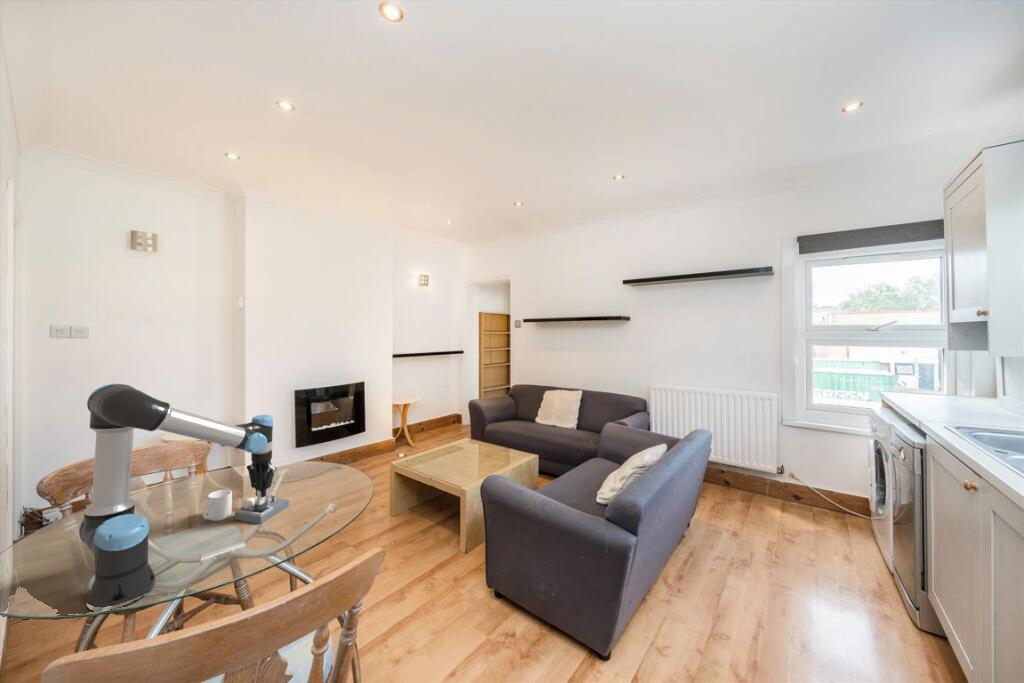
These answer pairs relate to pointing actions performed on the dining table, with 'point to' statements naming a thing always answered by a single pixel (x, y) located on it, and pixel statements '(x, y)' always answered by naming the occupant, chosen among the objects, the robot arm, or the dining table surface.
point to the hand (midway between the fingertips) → (260, 503)
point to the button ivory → (248, 503)
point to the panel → (259, 518)
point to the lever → (268, 495)
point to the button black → (260, 507)
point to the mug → (218, 505)
